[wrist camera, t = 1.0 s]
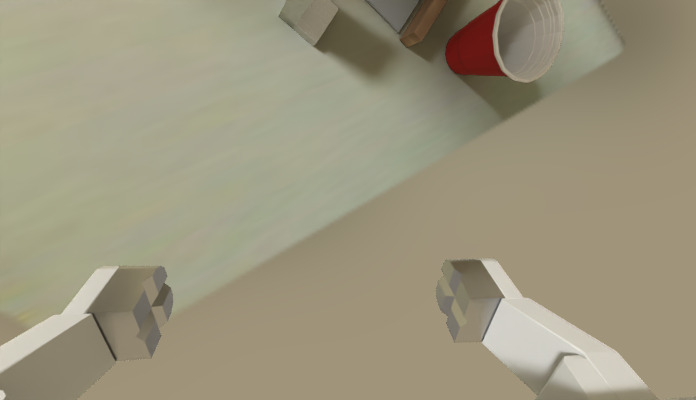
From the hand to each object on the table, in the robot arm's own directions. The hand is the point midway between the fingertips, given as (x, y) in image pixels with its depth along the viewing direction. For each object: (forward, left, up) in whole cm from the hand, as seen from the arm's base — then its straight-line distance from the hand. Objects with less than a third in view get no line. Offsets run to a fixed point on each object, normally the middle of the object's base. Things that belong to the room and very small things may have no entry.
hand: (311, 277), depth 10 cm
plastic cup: (+17, +31, -33) cm, 48 cm away
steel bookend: (-3, +20, -32) cm, 38 cm away
